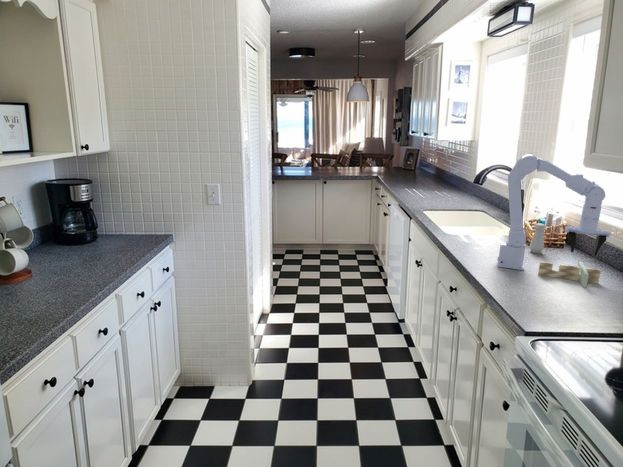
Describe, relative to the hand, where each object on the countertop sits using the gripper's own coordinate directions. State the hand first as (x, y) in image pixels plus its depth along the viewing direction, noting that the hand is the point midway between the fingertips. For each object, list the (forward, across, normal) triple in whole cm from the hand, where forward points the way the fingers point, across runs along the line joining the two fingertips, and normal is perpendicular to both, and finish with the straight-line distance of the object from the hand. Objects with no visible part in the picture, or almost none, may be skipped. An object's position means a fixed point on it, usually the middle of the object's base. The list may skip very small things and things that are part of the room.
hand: (583, 253), depth 178 cm
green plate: (+9, 0, -5) cm, 11 cm away
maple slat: (+9, -4, -6) cm, 12 cm away
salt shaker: (+9, -14, +28) cm, 33 cm away
